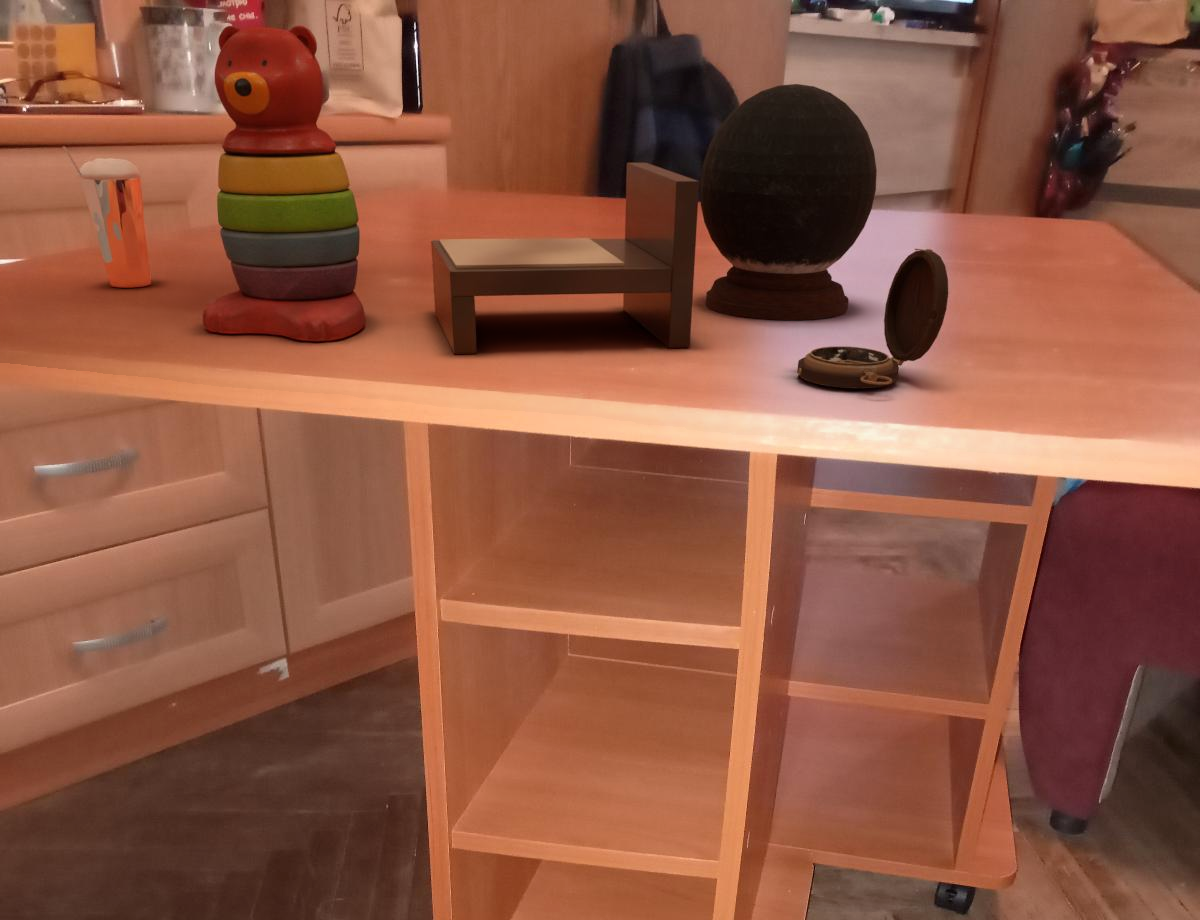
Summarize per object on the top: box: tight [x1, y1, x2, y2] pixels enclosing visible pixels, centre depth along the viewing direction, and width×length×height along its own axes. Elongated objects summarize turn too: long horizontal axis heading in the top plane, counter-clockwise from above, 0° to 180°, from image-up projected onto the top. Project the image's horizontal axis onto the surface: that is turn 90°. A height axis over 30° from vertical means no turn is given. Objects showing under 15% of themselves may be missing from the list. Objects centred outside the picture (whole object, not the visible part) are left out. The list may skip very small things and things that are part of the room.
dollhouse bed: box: [430, 162, 700, 355], centre depth 79 cm, size 16×14×10 cm
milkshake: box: [62, 145, 152, 289], centre depth 92 cm, size 4×5×10 cm
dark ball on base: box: [699, 83, 878, 321], centre depth 87 cm, size 13×13×15 cm
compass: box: [796, 248, 949, 389], centre depth 68 cm, size 8×8×7 cm
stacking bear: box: [202, 24, 366, 342], centre depth 77 cm, size 11×10×18 cm
